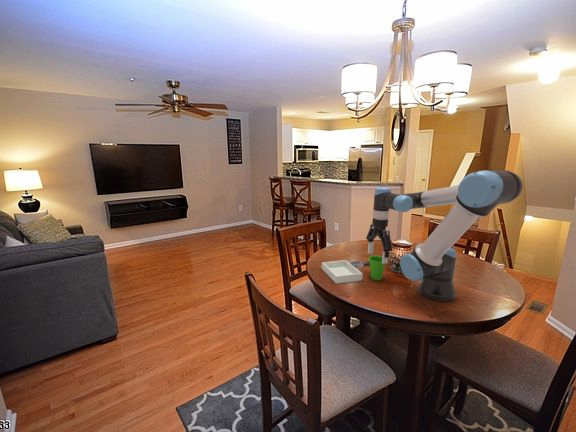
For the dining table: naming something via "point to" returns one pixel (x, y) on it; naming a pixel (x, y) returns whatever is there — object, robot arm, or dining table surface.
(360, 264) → the scoop
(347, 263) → the bin
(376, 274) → the cup
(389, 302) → the dining table surface
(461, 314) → the dining table surface
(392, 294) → the dining table surface
